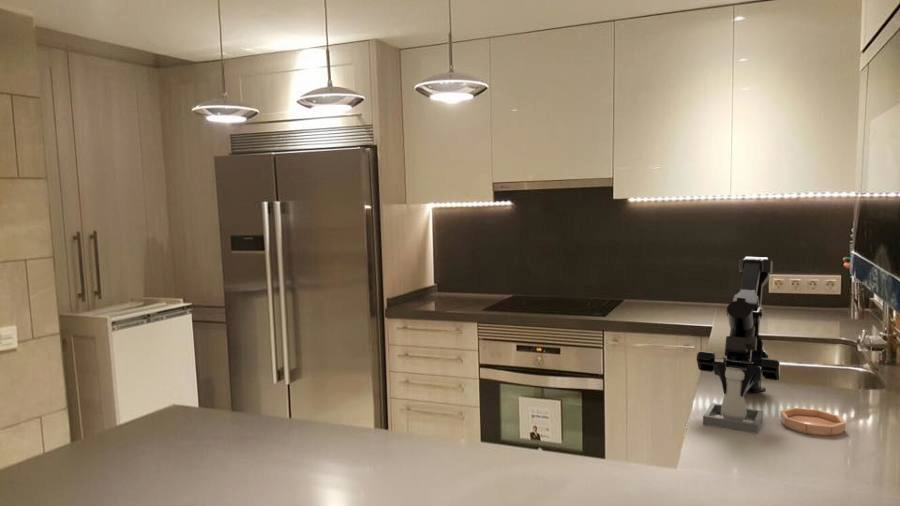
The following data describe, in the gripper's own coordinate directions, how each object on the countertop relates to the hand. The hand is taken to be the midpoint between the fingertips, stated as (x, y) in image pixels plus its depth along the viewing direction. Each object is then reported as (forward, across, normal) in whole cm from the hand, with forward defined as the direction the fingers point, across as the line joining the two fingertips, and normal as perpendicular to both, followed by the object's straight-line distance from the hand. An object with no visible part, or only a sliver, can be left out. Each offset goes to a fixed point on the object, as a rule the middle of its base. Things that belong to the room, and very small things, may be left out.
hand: (733, 394), depth 153 cm
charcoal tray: (+4, 0, +6) cm, 7 cm away
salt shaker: (+4, 0, +6) cm, 7 cm away
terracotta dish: (0, +17, +10) cm, 20 cm away
